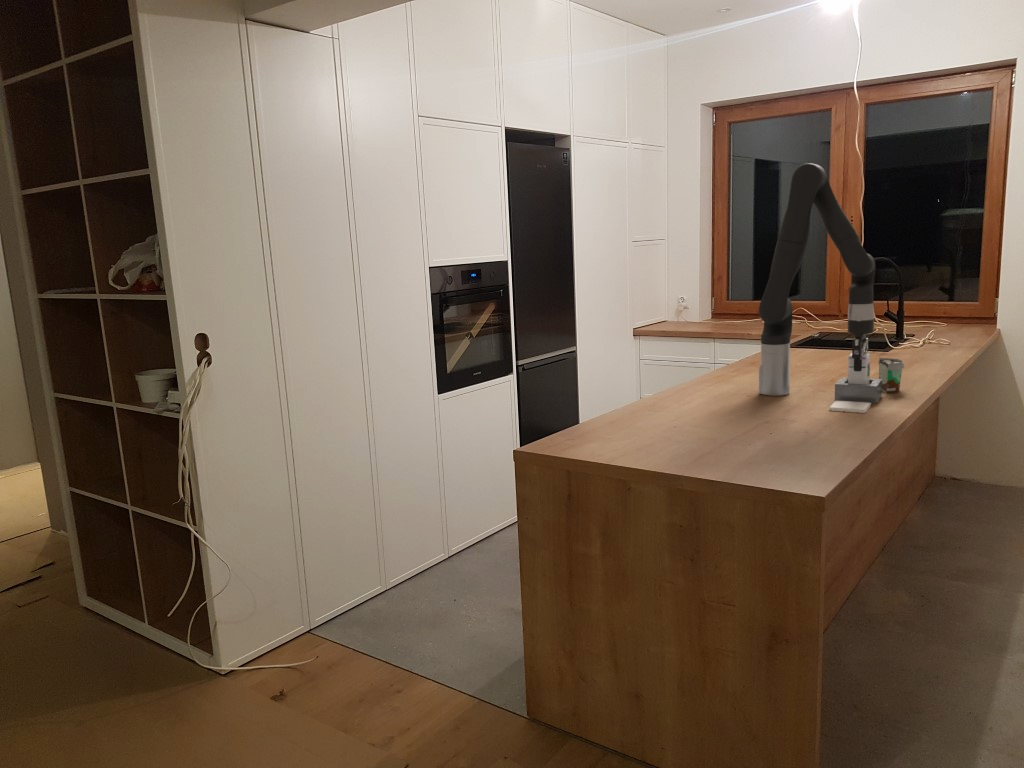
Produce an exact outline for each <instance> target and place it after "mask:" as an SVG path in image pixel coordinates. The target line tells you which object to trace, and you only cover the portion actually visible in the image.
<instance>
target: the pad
mask: <svg viewBox="0 0 1024 768" xmlns="http://www.w3.org/2000/svg"><path fill="white" fill-rule="evenodd" d="M871 406H872V403H868V402H852V401H835V400H834V402H833V403H832V404H831V405H830V406H829V411H830V410H831V411H833V412H843V411H845V413H846V412H847V413H857V412H858V413H862V414H866V413H867V411H868V410H869V409H870V408H871Z"/></svg>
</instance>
